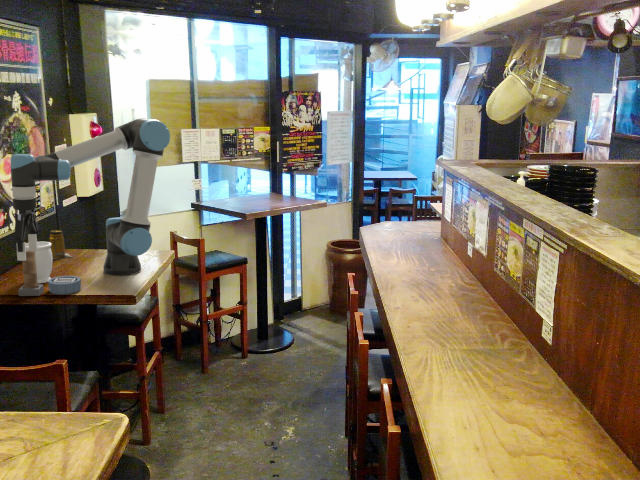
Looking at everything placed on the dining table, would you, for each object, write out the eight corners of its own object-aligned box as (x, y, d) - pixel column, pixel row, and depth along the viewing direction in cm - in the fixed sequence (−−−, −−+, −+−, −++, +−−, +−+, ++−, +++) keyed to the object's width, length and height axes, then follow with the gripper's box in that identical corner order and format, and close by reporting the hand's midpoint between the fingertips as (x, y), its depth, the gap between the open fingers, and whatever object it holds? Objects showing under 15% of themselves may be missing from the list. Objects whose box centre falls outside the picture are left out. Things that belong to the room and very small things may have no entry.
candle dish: (83, 285, 234) (83, 275, 233) (77, 294, 224) (76, 284, 223) (53, 286, 232) (53, 276, 231) (45, 294, 222) (45, 284, 221)
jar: (42, 286, 232) (39, 248, 229) (18, 283, 234) (15, 245, 231) (59, 278, 242) (57, 242, 239) (36, 276, 244) (34, 240, 241)
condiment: (48, 256, 275) (46, 230, 272) (67, 254, 280) (66, 228, 277) (52, 259, 269) (50, 233, 267) (72, 257, 274) (70, 231, 272)
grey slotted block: (43, 290, 226) (43, 284, 225) (39, 295, 221) (39, 289, 220) (23, 291, 225) (23, 284, 224) (19, 296, 219) (18, 289, 219)
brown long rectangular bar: (38, 292, 224) (35, 250, 220) (36, 294, 222) (33, 252, 219) (26, 292, 223) (23, 250, 220) (24, 294, 221) (21, 252, 218)
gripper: (23, 192, 226) (27, 247, 231) (0, 203, 202) (4, 264, 207) (45, 193, 227) (47, 247, 232) (24, 203, 203) (28, 264, 208)
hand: (27, 255), depth 219 cm, fingers open, 13 cm apart
